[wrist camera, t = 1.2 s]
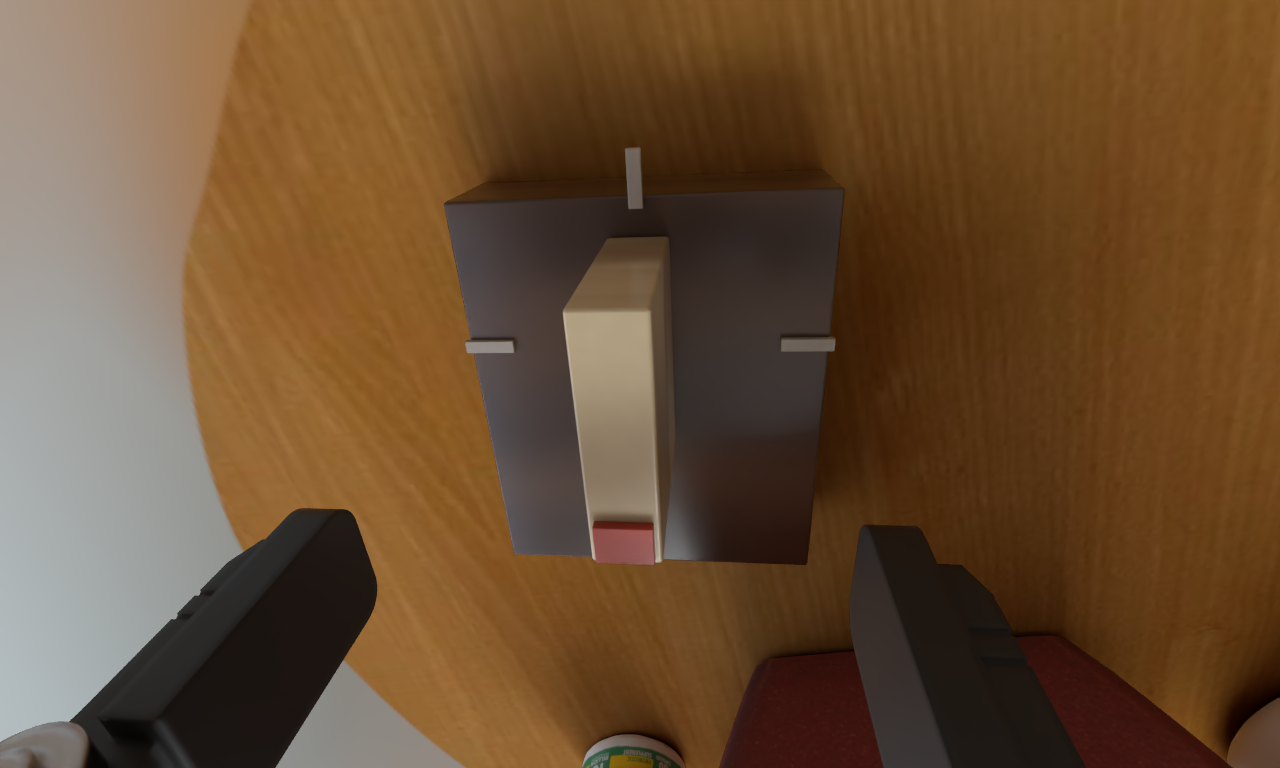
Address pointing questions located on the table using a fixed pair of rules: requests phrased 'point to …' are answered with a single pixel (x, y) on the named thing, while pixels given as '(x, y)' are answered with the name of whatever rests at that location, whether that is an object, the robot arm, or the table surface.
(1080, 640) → the table surface
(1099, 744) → the plant pot
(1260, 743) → the cup
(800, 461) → the panel
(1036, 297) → the table surface
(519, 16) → the table surface
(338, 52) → the table surface
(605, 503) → the handle
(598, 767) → the supplement bottle
